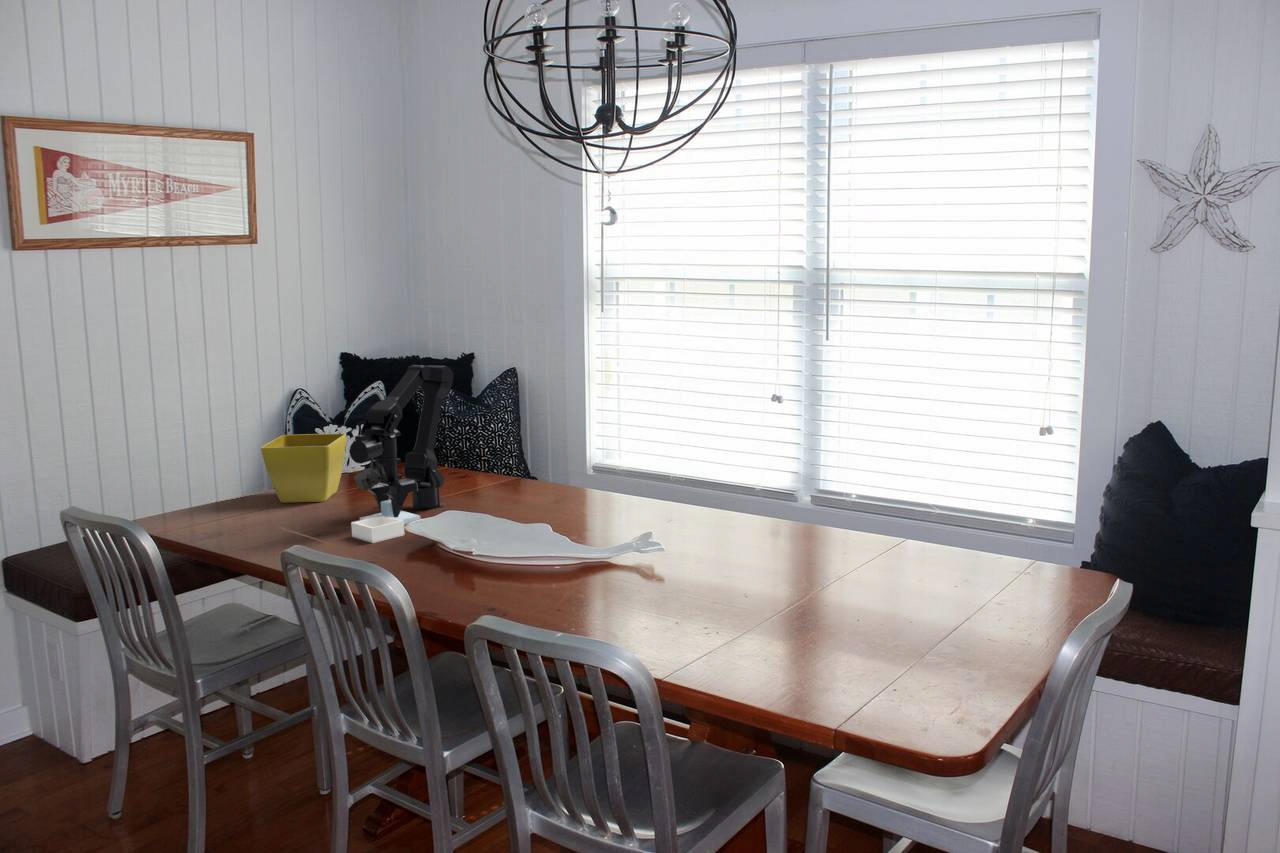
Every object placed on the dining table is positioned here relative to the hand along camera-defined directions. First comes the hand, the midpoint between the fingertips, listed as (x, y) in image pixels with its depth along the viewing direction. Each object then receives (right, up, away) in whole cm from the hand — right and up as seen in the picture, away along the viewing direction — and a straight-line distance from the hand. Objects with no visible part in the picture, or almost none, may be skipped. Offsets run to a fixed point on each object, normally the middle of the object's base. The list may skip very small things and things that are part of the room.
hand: (389, 515), depth 280 cm
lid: (0, -2, 0) cm, 2 cm away
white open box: (0, -4, -14) cm, 14 cm away
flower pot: (-30, +2, +32) cm, 44 cm away
